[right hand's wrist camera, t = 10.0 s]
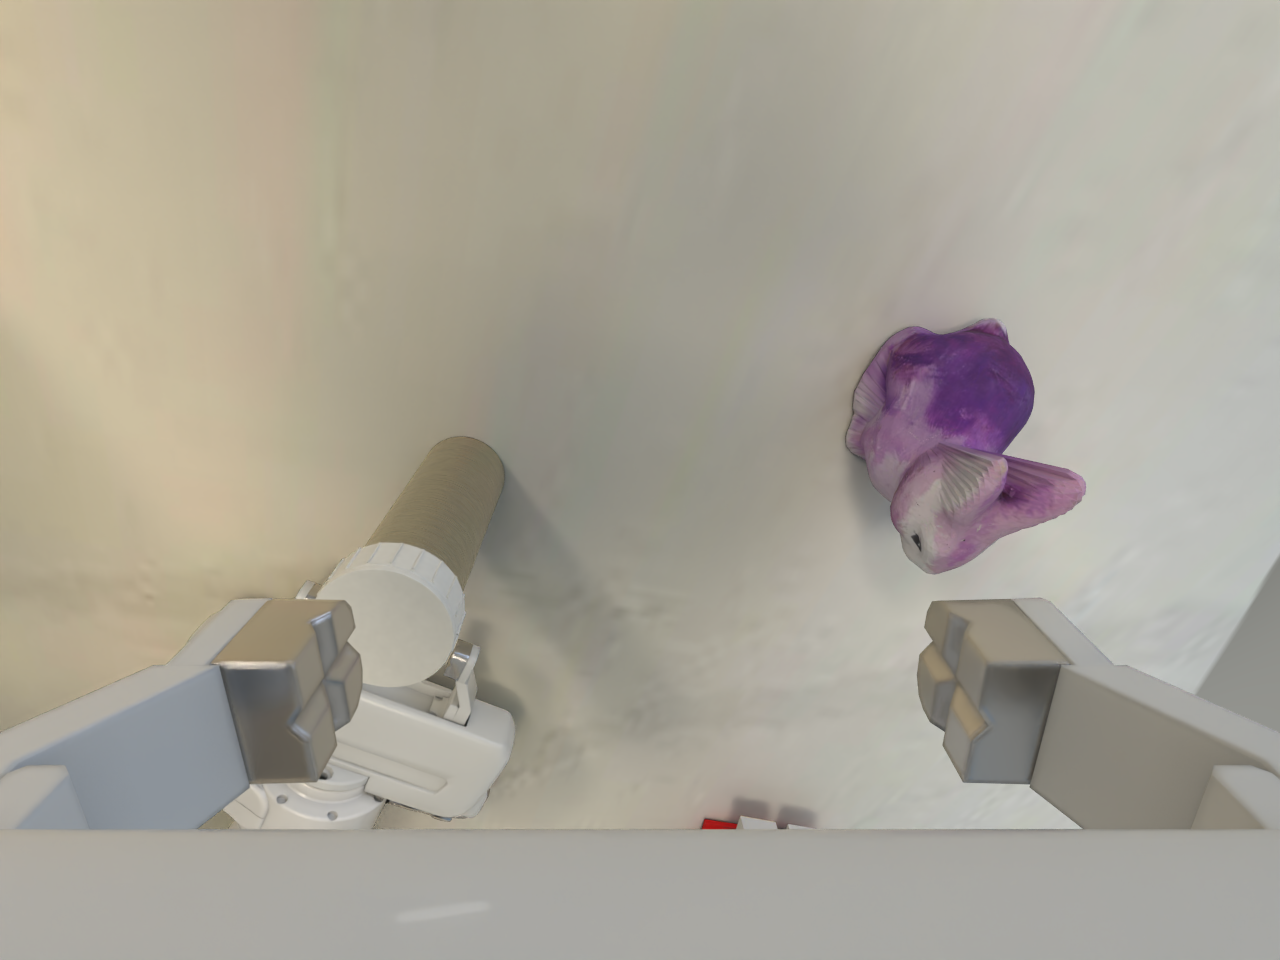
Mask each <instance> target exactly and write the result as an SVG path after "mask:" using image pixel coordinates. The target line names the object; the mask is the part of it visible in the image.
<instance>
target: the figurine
mask: <svg viewBox="0 0 1280 960" xmlns="http://www.w3.org/2000/svg"><path fill="white" fill-rule="evenodd" d="M1033 403H1034V385H1033V381H1032V377H1031V375H1030V372H1029V370H1028V368H1027V366H1026V364H1025V362H1024V361H1023V359H1022V357H1021V356H1020V354H1019V353H1018V352H1017V351H1016V350H1015V349H1014V348H1013V347H1012V346H1011V345H1010V344H1009V341H1008V335H1007V330H1006V327H1005V325H1004V324H1003V323H1002V322H1001V321H1000V320H998V319H994V318H988V319H982V320H980V321H978V322H977V323H975V324H973V325H971V326H969V327H966V328H964V329H962V330H960V331H957V332H953V333H949V334H944V335H939V334H935V333H932V332H931V331H929V330H927V329H924V328H921V327H908V328H906V329H903V330H901V331H900V332H898V333H896V334H894V335H893V336H892V337H891V338H889V339H888V340H887V341H886V342H885V344H884V345H883V346H882V347H881V349H880V350H879V352H878V353H877V355H876V356H875V358H874V359H873V361H872V362H871V364H870V365H869V366H868V368H867V369H866V371H865V372H864V374H863V375H862V378H861V380H860V382H859V384H858V386H857V388H856V390H855V392H854V403H853V410H854V415H853V417H852V421H851V424H850V426H849V429H848V431H847V434H846V446H847V448H849V450H850V451H851V453H853V454H854V455H859V457H862V459H865V461H866V464H867V469H868V474H869V477H870V480H871V482H872V484H873V486H874V487H875V488H876V489H877V491H878V492H880V493H881V494H882V495H883V496H884V497H885V498H886V499H887V500H889V501H890V502H891V506H890V512H891V520H892V522H893V524H894V526H895V528H896V529H897V531H898V532H899V533H900V536H901V542H902V547H903V550H904V552H905V554H906V556H907V557H908V558H909V559H910V560H911V561H912V562H913V563H914V564H916V565H917V566H918V567H919V568H921V569H922V570H923V571H925V572H926V573H928V574H939V573H942V572H945V571H948V570H951V569H955V568H957V567H960V566H962V565H964V564H966V563H967V562H969V561H971V560H972V559H974V558H976V557H977V556H978V555H979V554H981V553H982V552H984V551H985V550H986V549H987V548H988V547H989V546H991V545H992V544H993V543H995V542H996V541H997V540H998V539H999V538H1001V537H1004V536H1006V535H1008V534H1011V533H1014V532H1017V531H1019V530H1021V529H1025V528H1029V527H1033V526H1036V525H1038V524H1039V523H1044V522H1046V521H1048V520H1051V519H1054V518H1057V517H1058V516H1059V515H1063V514H1065V513H1066V512H1067V511H1069V510H1072V509H1073V507H1074V506H1075V505H1077V504H1078V503H1079V502H1081V500H1082V496H1084V495H1085V491H1086V483H1085V481H1084V480H1083V478H1082V477H1081V476H1080V475H1078V474H1076V473H1074V472H1072V471H1070V470H1069V469H1065V468H1060V467H1056V466H1051V465H1047V464H1042V463H1038V462H1033V461H1029V460H1024V459H1020V458H1015V457H1011V456H1006V455H1002V453H1003V452H1004V451H1005V449H1006V448H1007V447H1008V446H1009V444H1010V443H1011V442H1012V441H1013V439H1014V438H1015V437H1016V436H1017V434H1018V433H1019V432H1020V431H1021V429H1022V428H1023V427H1024V425H1025V424H1026V422H1027V421H1028V419H1029V417H1030V415H1031V412H1032V409H1033Z"/></svg>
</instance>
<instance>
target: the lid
mask: <svg viewBox="0 0 1280 960" xmlns="http://www.w3.org/2000/svg"><path fill="white" fill-rule="evenodd" d="M464 597H465V594H463V592H462V588H461V586H460V584H459V582H458V580H457V576H455V575H454V573H453V572H452V571H451V570H450V569H449V567H448V566H447V565H446V564H444V563H443V561H441V560H440V559H438V558H437V557H436V556H434V555H432V554H431V553H429V552H427V551H425V550H424V549H421V548H418V547H415V546H412V545H408V544H403V543H393V542H390V543H381V542H378V544H373V545H369V546H365V547H363V548H360V547H359V548H358V549H357V550H356V551H355V552H353V553H351V554H350V555H349V556H348V557H346V558H345V559H344V558H343V559H342V560H341V561H340V562H339V564H338V565H337V567H336V568H335V569H334V571H333V572H332V573H331V575H330V576H329V578H328V579H327V581H326V582H325V583H324V585H323V586H322V587H321V589H320V590H319V592H318V593H317V597H316V599H321V600H345V601H346V602H347V603H348V604H349V605H350V606H351V607H352V612H353V617H354V622H355V626H356V628H355V629H354V631H353V632H352V634H351V636H350V637H349V639H348V640H347V641H348V642H349V643H350V644H351V645H352V646H353V647H354V649H355V650H356V651H357V652H358V653H359V654H360V655H361V662H362V668H363V683H366V684H370V685H374V686H380V687H401V686H408V685H412V684H415V683H418V682H421V681H423V680H425V679H427V678H429V677H430V676H432V675H433V674H434V673H436V672H437V671H438V670H439V669H440V668H441V667H442V666H443V665H444V664H445V662H446V661H447V659H448V657H449V656H450V654H451V652H453V650H454V647H455V644H456V641H457V638H458V636H459V633H460V630H461V626H462V623H463V620H464V617H465V615H466V612H465V601H464Z"/></svg>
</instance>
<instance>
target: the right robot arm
mask: <svg viewBox="0 0 1280 960" xmlns="http://www.w3.org/2000/svg"><path fill="white" fill-rule="evenodd" d="M355 628H356V626H355V622H354V617H353V612H352V607H351V606H350V605H349V604H348V603H347V602H346V601H345V600H321V599H272V598H248V599H236V600H231V601H230V602H229V603H228V604H227V605H226V606H225V607H224V608H223V609H222V610H221V611H220V612H219V613H218V614H217V615H216V616H215V617H214V618H213V619H212V620H211V621H210V622H209V623H208V624H207V625H206V626H205V627H204V628H203V629H202V630H201V631H199V632H198V633H197V634H196V635H195V636H194V637H193V638H192V639H191V640H190V641H189V642H188V643H187V644H186V645H185V646H184V647H183V648H182V649H181V650H180V651H179V652H178V653H177V654H176V655H175V656H174V657H173V658H172V659H171V660H170V661H169V662H168V663H167V664H166V665H153V666H150V667H148V668H146V669H144V670H141V671H139V672H137V673H134V674H132V675H130V676H128V677H125V678H123V679H121V680H118V681H116V682H114V683H112V684H109V685H107V686H105V687H102V688H100V689H98V690H96V691H93V692H91V693H89V694H86V695H84V696H82V697H80V698H77V699H75V700H73V701H70V702H68V703H66V704H64V705H61V706H59V707H57V708H55V709H52V710H50V711H48V712H45V713H43V714H41V715H39V716H36V717H34V718H32V719H29V720H27V721H25V722H23V723H20V724H18V725H16V726H13V727H11V728H9V729H7V730H4V731H2V732H0V960H1280V732H1277V731H1275V730H1273V729H1271V728H1268V727H1266V726H1264V725H1262V724H1259V723H1257V722H1255V721H1252V720H1250V719H1248V718H1246V717H1243V716H1241V715H1239V714H1237V713H1234V712H1232V711H1230V710H1227V709H1225V708H1223V707H1221V706H1218V705H1216V704H1214V703H1212V702H1209V701H1207V700H1205V699H1202V698H1200V697H1198V696H1196V695H1193V694H1191V693H1189V692H1187V691H1184V690H1182V689H1180V688H1177V687H1175V686H1173V685H1171V684H1168V683H1166V682H1164V681H1161V680H1159V679H1157V678H1155V677H1152V676H1150V675H1148V674H1146V673H1143V672H1141V671H1139V670H1136V669H1134V668H1132V667H1130V666H1127V665H1114V664H1113V663H1112V662H1111V661H1110V660H1109V659H1108V658H1107V657H1106V656H1105V655H1104V654H1103V653H1102V652H1101V651H1100V650H1099V649H1098V648H1097V647H1096V646H1095V645H1094V644H1093V643H1092V642H1091V641H1090V640H1089V639H1088V638H1087V637H1086V636H1085V635H1084V634H1083V633H1082V632H1081V631H1080V630H1079V629H1078V628H1077V627H1076V626H1075V625H1074V624H1073V623H1072V622H1071V621H1070V620H1069V619H1068V618H1066V617H1065V616H1064V615H1063V614H1062V613H1061V612H1060V611H1059V610H1058V609H1057V608H1056V607H1055V606H1054V605H1053V604H1052V603H1051V602H1050V601H1048V600H1045V599H1042V598H1023V599H989V600H949V601H932V603H931V605H930V607H929V609H928V611H927V615H926V621H925V626H924V628H925V629H926V631H927V632H928V634H929V636H930V637H931V639H932V640H933V641H932V642H931V643H930V644H929V645H928V646H927V647H926V648H925V650H924V651H923V652H922V653H921V654H920V656H919V663H918V671H917V681H918V693H919V697H920V701H921V704H922V707H923V710H924V712H925V714H926V716H927V717H928V719H929V721H930V722H931V723H932V724H934V725H935V726H937V727H938V728H940V729H941V730H943V731H945V735H944V740H943V747H944V749H945V751H946V752H947V754H948V756H949V758H950V760H951V761H952V763H953V765H954V767H955V769H956V770H957V772H958V774H959V776H960V778H961V779H962V781H963V782H964V783H1001V784H1030V788H1031V789H1033V790H1034V791H1035V792H1036V793H1038V794H1039V795H1040V796H1042V797H1043V798H1044V799H1045V800H1047V801H1048V802H1049V803H1051V804H1052V805H1053V806H1054V807H1056V808H1057V809H1058V810H1060V811H1061V812H1062V813H1063V814H1065V815H1066V816H1067V817H1069V818H1070V819H1071V820H1072V821H1074V822H1075V823H1076V824H1077V825H1079V826H1080V827H1081V828H1083V829H198V828H199V827H200V826H201V825H203V824H204V823H205V822H207V821H208V820H209V819H210V818H212V817H213V816H214V815H216V814H217V813H218V812H219V811H221V810H222V809H223V808H225V807H226V806H227V805H228V804H230V803H231V802H232V801H234V800H235V799H236V798H237V797H239V796H240V795H241V794H243V793H244V792H245V791H246V790H248V789H249V788H250V784H278V783H313V782H317V781H318V779H319V778H320V776H321V774H322V772H323V770H324V769H325V767H326V765H327V763H328V761H329V760H330V758H331V756H332V754H333V752H334V751H335V749H336V747H337V740H336V735H335V731H337V730H339V729H340V728H342V727H343V726H345V725H346V724H348V723H349V722H350V721H351V719H352V717H353V715H354V713H355V712H356V710H357V708H358V704H359V700H360V696H361V691H362V687H363V668H362V662H361V655H360V654H359V653H358V652H357V651H356V650H355V649H354V647H353V646H352V645H351V644H350V643H349V642H348V641H347V640H348V639H349V637H350V636H351V634H352V632H353V631H354V629H355Z"/></svg>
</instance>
